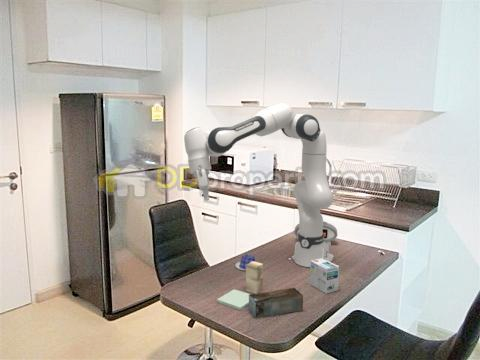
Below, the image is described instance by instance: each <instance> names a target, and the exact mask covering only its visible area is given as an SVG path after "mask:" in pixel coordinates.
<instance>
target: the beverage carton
mask: <svg viewBox="0 0 480 360" xmlns="http://www.w3.org/2000/svg"><path fill="white" fill-rule="evenodd" d="M249 294H250V295H249V305H248V309H249V311H250V313H251V314H252V315H253V317H254V318H255V319H258V318H265V317H272V316H277V315H283V314H287V313H288V314H289V313H293V312H300V311H303V310H304V309H303V306H304V295H303V294H302V293H301V292H300V291H299V290H298V289H296V287H288V288H284V289H278V290H272V291H265V292H264V291H263V292H258V293H256V294H255V293H252V294H251V293H249Z"/></svg>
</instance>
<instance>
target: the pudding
mask: <svg viewBox="0 0 480 360" xmlns="http://www.w3.org/2000/svg"><path fill="white" fill-rule="evenodd" d="M252 261H254V262H256V258H255V256H254V255H253V254H243V255H242V256H241V259H240V261H238V262H236V263H235V264H234V266H235V268H237V269H238V270H241V271H246V265H247V264H249V263H250V262H252Z"/></svg>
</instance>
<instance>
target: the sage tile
mask: <svg viewBox="0 0 480 360" xmlns="http://www.w3.org/2000/svg"><path fill="white" fill-rule="evenodd" d="M250 294H251V293H247V292H244V291H241V290H238V289H232V290H230V291H229V292H227V293H226V294H223V295H222V296H220V297H218V298H216V303H218V304H219V305H220V304H221V305H224V306H226V307H229V308H232V309H235V310H237V311H242V310H244V309H246V308H247V307H249V295H250Z"/></svg>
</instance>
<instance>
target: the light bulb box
mask: <svg viewBox="0 0 480 360" xmlns="http://www.w3.org/2000/svg"><path fill="white" fill-rule="evenodd" d="M309 268H310V272H309V275H310V276H309V285H311V286H312V287H314V288H316V289H317V290H319V291H320V292H323V293H324V294H330V293H334V292H337V291H339V282H340V280H339V279H340V266H339V265H337V264H335V263H333V262H332V261H331V262H329V261H327V260H325V259H323V258H321V259H316V260H311V267H309Z"/></svg>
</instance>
